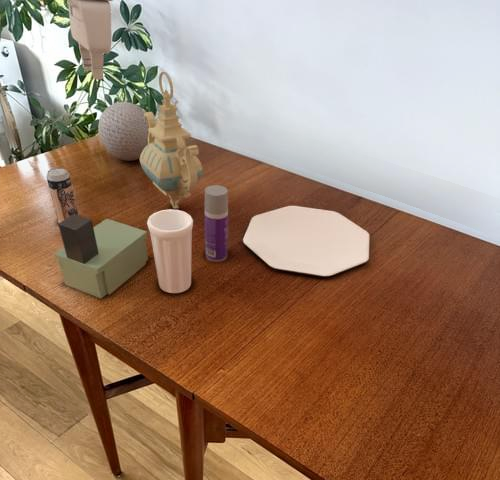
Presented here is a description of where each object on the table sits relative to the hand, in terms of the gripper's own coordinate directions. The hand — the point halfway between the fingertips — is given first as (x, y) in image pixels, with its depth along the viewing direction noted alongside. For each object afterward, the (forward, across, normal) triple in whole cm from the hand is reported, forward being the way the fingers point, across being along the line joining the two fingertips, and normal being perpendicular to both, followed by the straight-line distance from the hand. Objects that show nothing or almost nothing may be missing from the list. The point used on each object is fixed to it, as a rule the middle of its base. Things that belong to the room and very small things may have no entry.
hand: (92, 74), depth 88 cm
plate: (+29, +23, +40) cm, 54 cm away
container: (+31, +21, +18) cm, 42 cm away
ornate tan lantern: (+29, -2, +17) cm, 34 cm away
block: (+26, +22, -9) cm, 35 cm away
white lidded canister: (+31, -4, -8) cm, 32 cm away
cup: (+32, +27, +7) cm, 43 cm away
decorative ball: (+27, -34, +14) cm, 46 cm away
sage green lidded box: (+32, +18, -4) cm, 37 cm away
